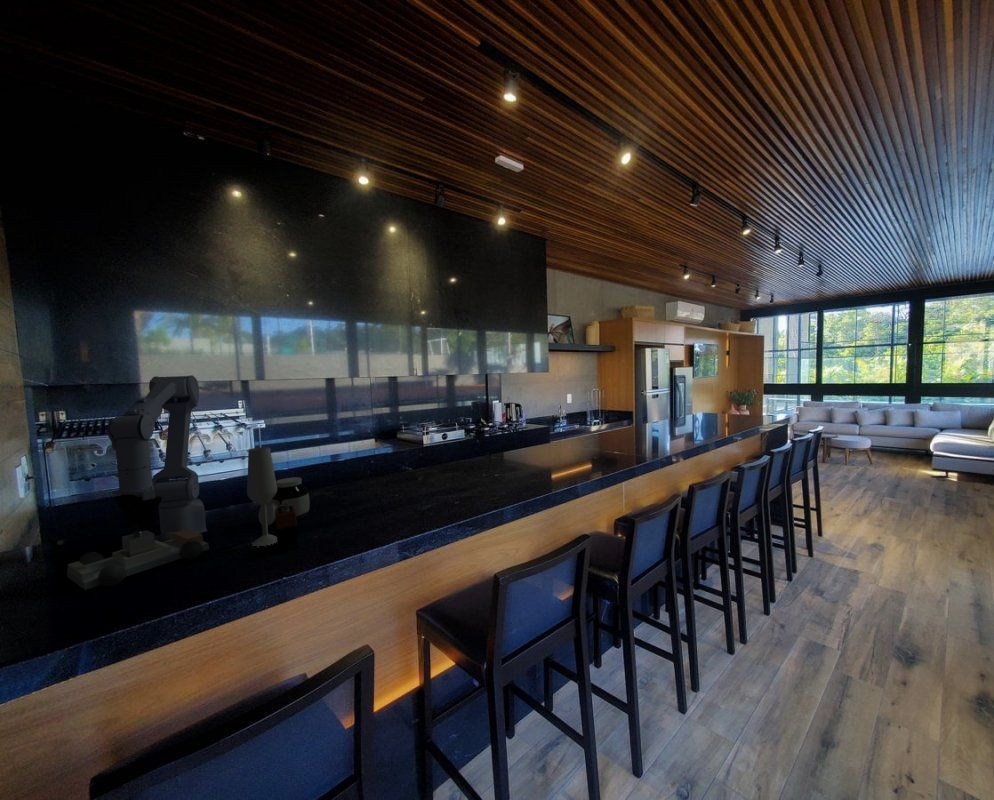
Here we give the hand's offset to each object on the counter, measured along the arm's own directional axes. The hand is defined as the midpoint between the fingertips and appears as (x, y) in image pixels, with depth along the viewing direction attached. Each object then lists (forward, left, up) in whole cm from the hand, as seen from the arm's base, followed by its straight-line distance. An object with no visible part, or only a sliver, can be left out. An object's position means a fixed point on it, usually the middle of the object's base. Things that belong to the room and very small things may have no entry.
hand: (139, 527), depth 94 cm
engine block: (0, 0, -7) cm, 7 cm away
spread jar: (-33, +1, -9) cm, 34 cm away
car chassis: (0, 0, -9) cm, 9 cm away
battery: (-22, +21, -9) cm, 32 cm away
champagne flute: (-21, +13, -9) cm, 26 cm away
